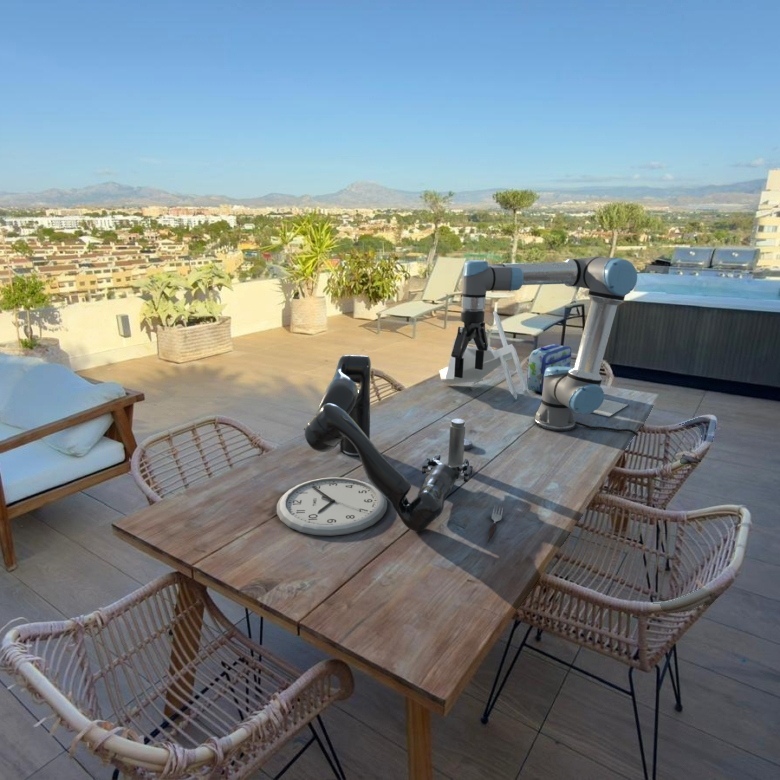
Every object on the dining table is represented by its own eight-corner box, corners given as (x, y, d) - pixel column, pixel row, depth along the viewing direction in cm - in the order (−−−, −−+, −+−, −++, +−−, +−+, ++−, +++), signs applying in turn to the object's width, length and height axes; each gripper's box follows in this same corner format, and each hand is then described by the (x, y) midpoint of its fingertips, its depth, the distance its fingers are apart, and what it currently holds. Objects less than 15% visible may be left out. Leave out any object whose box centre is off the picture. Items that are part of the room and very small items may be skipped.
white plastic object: (461, 429, 252) (437, 405, 227) (444, 352, 274) (420, 323, 250) (535, 404, 240) (518, 377, 215) (510, 326, 262) (492, 293, 237)
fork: (482, 542, 127) (483, 535, 126) (493, 511, 141) (494, 504, 140) (493, 545, 126) (494, 538, 125) (503, 513, 140) (503, 506, 140)
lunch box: (543, 396, 238) (548, 352, 231) (522, 391, 245) (526, 347, 239) (570, 385, 255) (575, 343, 249) (550, 381, 262) (555, 340, 256)
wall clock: (392, 527, 129) (268, 531, 127) (391, 533, 130) (269, 537, 127) (383, 473, 158) (282, 475, 155) (383, 478, 158) (282, 480, 156)
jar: (464, 470, 165) (467, 423, 160) (449, 471, 164) (452, 423, 159) (460, 464, 169) (463, 418, 164) (446, 464, 169) (449, 418, 164)
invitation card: (608, 416, 214) (573, 407, 224) (608, 416, 214) (573, 408, 224) (628, 404, 229) (594, 396, 238) (628, 405, 229) (594, 397, 238)
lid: (459, 441, 187) (459, 437, 186) (474, 445, 184) (474, 440, 183) (452, 447, 182) (452, 442, 181) (468, 451, 179) (468, 446, 179)
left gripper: (414, 490, 148) (429, 466, 163) (463, 499, 144) (474, 474, 158) (415, 466, 146) (430, 444, 161) (465, 475, 142) (476, 452, 156)
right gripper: (481, 304, 180) (477, 364, 187) (442, 312, 161) (439, 378, 168) (501, 306, 176) (496, 367, 182) (463, 315, 157) (459, 383, 163)
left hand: (452, 459), depth 160 cm, fingers open, 8 cm apart
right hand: (468, 373), depth 175 cm, fingers open, 13 cm apart
